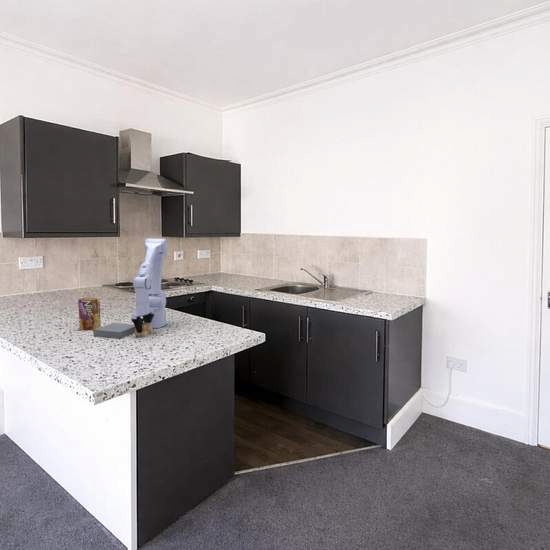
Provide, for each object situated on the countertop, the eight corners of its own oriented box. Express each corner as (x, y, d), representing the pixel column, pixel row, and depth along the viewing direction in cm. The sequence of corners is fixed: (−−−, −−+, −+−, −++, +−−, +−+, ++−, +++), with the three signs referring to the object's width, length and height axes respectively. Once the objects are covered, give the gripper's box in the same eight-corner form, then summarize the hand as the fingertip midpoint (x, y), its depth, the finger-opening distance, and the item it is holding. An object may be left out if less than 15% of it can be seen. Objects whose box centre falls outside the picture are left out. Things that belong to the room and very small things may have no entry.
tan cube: (141, 332, 185) (141, 322, 184) (151, 333, 183) (150, 322, 183) (135, 335, 180) (135, 324, 179) (145, 336, 179) (144, 325, 178)
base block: (113, 328, 190) (113, 322, 190) (139, 331, 187) (138, 324, 186) (93, 336, 177) (93, 329, 177) (120, 338, 173) (120, 332, 173)
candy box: (101, 327, 193) (100, 296, 191) (98, 329, 189) (97, 298, 187) (81, 327, 192) (80, 297, 190) (79, 330, 187) (77, 298, 186)
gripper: (144, 299, 188) (144, 326, 190) (125, 304, 174) (126, 334, 176) (157, 299, 186) (157, 327, 188) (139, 305, 172) (139, 335, 174)
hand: (143, 331), depth 182 cm, fingers open, 6 cm apart
